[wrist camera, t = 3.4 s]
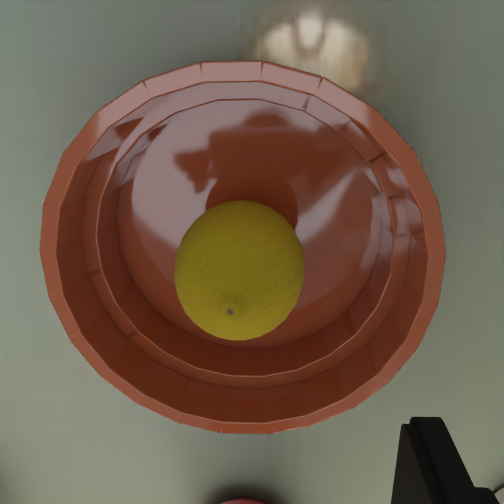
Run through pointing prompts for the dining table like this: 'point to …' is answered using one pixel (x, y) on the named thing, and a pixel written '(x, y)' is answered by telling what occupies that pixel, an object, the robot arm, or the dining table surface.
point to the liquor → (244, 501)
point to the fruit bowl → (247, 189)
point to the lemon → (239, 270)
